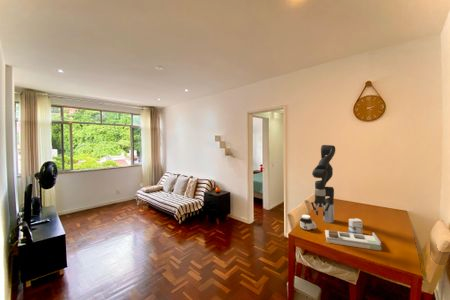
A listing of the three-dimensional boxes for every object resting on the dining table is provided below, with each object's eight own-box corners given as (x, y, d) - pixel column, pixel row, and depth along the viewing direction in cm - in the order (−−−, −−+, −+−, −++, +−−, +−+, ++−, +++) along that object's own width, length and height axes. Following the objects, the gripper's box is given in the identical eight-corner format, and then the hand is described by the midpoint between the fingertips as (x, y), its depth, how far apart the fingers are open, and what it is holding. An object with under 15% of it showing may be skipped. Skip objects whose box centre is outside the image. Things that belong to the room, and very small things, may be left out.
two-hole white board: (325, 232, 164) (325, 226, 164) (373, 239, 151) (373, 232, 151) (326, 242, 150) (326, 235, 149) (381, 250, 136) (381, 243, 136)
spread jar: (298, 228, 174) (298, 215, 173) (305, 224, 181) (304, 212, 180) (311, 233, 165) (311, 219, 164) (318, 228, 172) (317, 215, 171)
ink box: (352, 235, 158) (352, 221, 157) (348, 232, 163) (348, 218, 162) (362, 234, 158) (362, 220, 158) (358, 231, 164) (358, 218, 163)
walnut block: (328, 235, 156) (328, 230, 155) (337, 236, 153) (337, 231, 153) (329, 238, 150) (329, 233, 150) (338, 240, 148) (338, 234, 147)
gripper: (329, 193, 154) (330, 214, 155) (310, 192, 159) (310, 212, 160) (330, 196, 147) (331, 218, 148) (310, 194, 152) (310, 216, 153)
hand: (320, 215), depth 154 cm, fingers open, 3 cm apart
